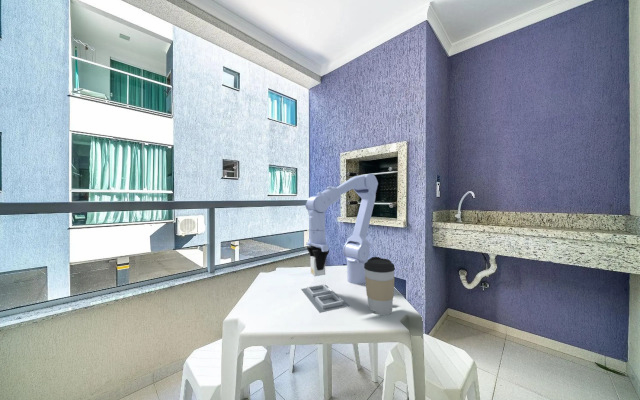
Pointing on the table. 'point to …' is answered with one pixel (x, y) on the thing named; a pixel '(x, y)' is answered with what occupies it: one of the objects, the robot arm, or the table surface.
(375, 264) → the coffee cup
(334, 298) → the panel
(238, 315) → the table surface
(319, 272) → the plug
